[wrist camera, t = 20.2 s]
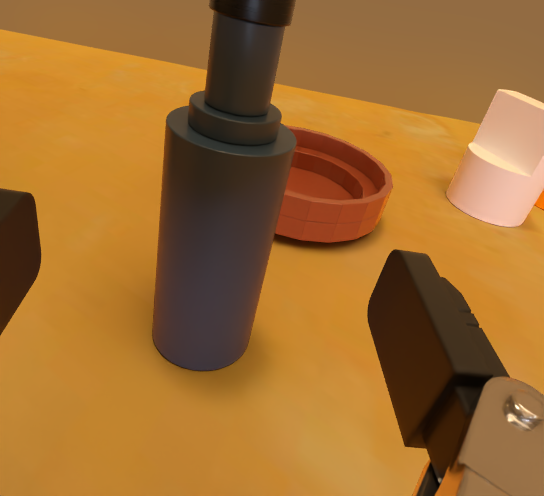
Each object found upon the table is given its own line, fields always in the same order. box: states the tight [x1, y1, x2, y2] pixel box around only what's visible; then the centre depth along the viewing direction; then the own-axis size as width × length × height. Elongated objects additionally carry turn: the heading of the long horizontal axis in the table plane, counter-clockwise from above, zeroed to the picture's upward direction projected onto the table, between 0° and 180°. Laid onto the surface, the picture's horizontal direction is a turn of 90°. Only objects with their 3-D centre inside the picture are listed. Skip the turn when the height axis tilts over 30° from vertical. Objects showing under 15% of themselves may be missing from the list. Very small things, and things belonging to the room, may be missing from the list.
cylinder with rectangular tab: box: [446, 89, 544, 227], centre depth 48 cm, size 9×9×12 cm
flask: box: [152, 0, 297, 371], centre depth 22 cm, size 6×6×18 cm
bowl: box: [275, 125, 393, 243], centre depth 42 cm, size 16×16×4 cm
